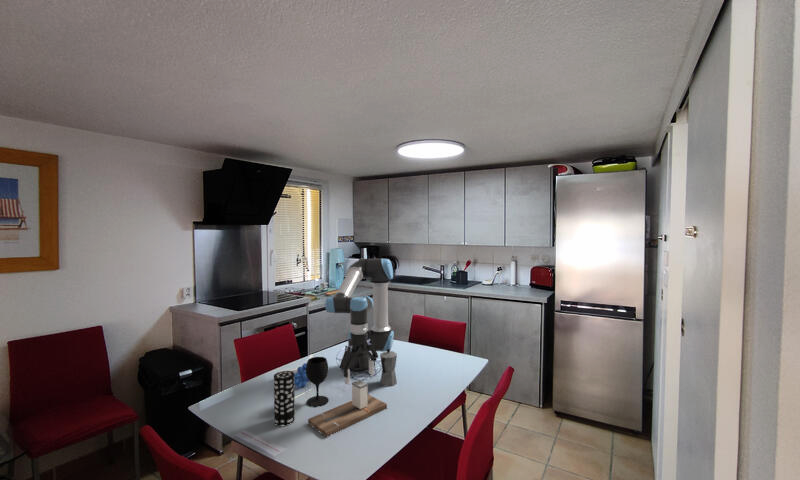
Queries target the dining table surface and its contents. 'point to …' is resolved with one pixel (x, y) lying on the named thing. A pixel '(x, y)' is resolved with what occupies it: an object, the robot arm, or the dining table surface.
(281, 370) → the napkin holder
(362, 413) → the brown flat wooden board
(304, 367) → the grapes
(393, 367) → the coffeepot
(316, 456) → the dining table surface
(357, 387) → the fader
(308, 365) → the wine glass
